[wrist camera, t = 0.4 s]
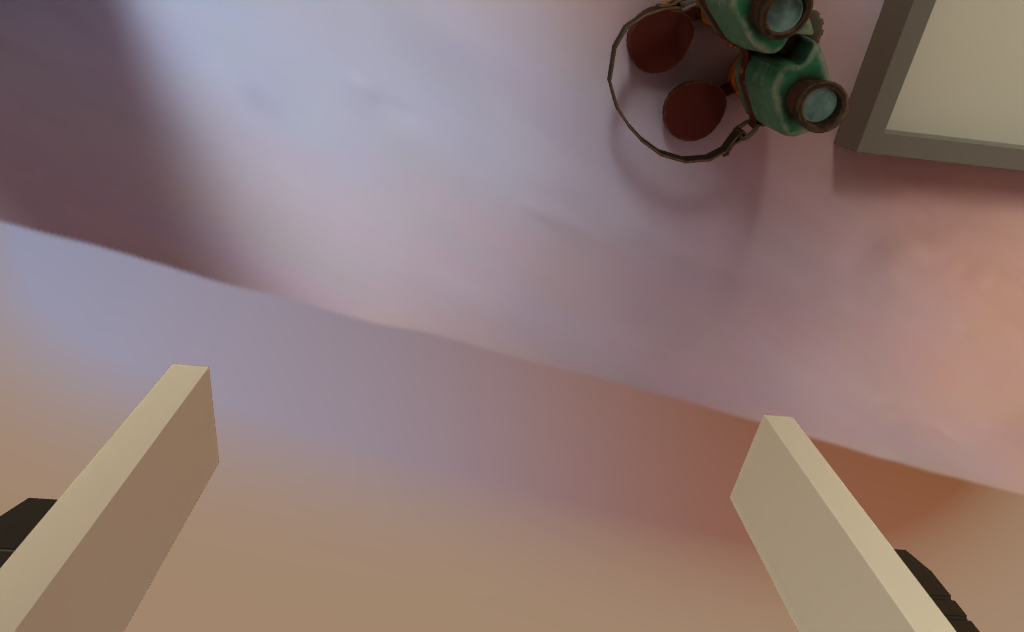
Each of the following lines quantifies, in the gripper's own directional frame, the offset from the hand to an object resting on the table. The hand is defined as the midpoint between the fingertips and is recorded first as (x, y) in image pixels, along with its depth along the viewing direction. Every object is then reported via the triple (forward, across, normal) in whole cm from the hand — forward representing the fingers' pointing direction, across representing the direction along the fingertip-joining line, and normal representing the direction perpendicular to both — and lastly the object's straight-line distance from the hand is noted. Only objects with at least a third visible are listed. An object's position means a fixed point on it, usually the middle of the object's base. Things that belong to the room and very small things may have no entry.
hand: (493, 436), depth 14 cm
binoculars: (+26, +11, +8) cm, 29 cm away
